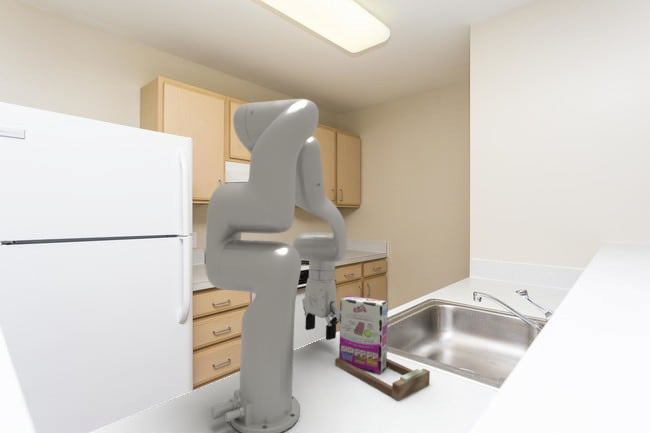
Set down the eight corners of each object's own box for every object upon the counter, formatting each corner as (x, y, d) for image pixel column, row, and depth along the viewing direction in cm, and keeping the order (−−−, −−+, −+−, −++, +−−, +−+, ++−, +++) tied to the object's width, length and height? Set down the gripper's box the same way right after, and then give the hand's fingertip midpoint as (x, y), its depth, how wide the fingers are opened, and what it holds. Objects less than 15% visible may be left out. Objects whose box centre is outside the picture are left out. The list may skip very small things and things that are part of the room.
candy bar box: (387, 367, 79) (389, 300, 80) (380, 375, 75) (382, 304, 75) (346, 356, 85) (348, 294, 85) (337, 363, 81) (339, 298, 81)
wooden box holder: (398, 400, 64) (398, 382, 65) (335, 365, 80) (335, 350, 80) (429, 384, 71) (429, 368, 71) (365, 354, 86) (366, 341, 87)
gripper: (294, 271, 98) (292, 328, 98) (330, 281, 85) (329, 346, 84) (314, 269, 103) (312, 323, 103) (351, 278, 89) (349, 340, 89)
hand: (320, 333), depth 93 cm, fingers open, 9 cm apart
